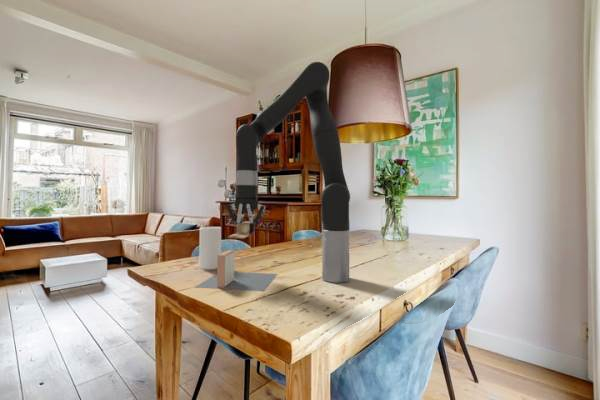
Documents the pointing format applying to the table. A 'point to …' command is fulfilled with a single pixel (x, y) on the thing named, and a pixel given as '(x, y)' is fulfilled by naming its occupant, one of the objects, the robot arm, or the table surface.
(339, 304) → the table surface
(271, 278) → the mat
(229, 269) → the tile
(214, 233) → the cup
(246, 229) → the beige pillar on base
